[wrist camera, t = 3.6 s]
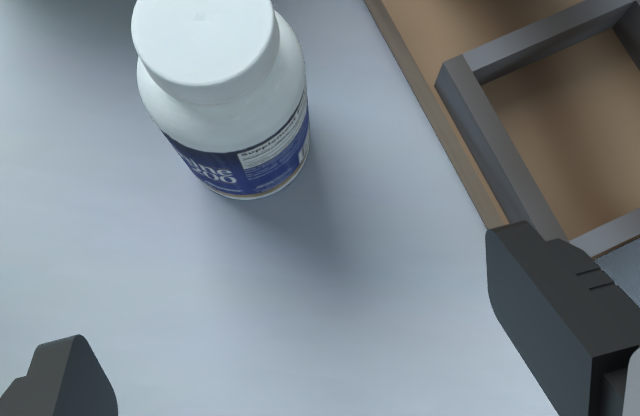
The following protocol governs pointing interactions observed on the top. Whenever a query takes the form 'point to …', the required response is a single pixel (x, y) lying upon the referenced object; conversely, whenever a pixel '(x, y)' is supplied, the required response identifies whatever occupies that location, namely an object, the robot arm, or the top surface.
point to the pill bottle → (225, 90)
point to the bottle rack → (532, 107)
